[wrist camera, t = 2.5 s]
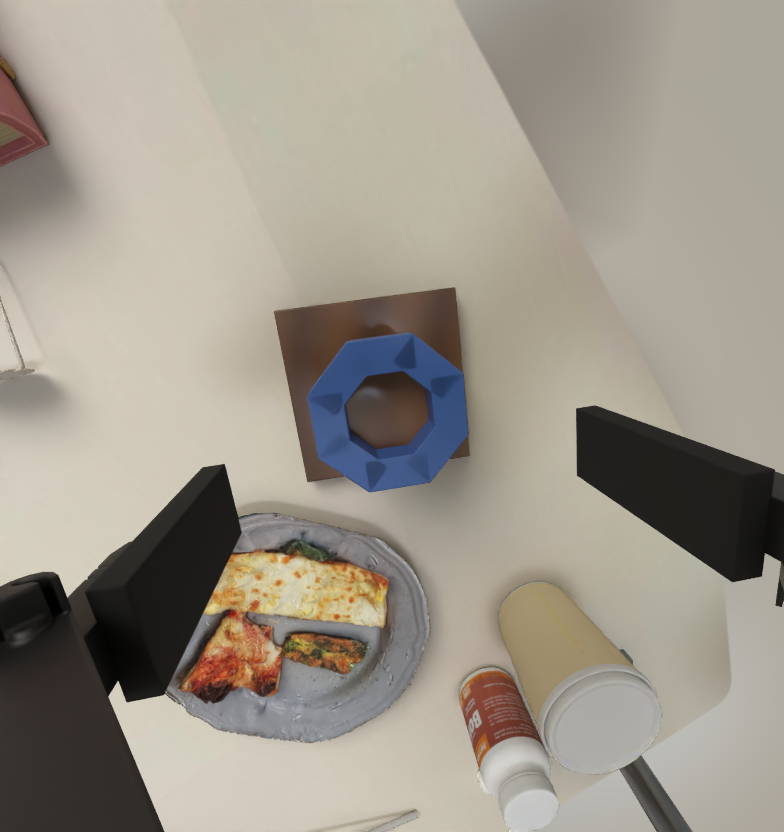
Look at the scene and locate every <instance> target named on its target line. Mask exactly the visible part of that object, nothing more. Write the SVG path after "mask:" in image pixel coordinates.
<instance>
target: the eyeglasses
mask: <svg viewBox="0 0 784 832" xmlns="http://www.w3.org/2000/svg"><path fill="white" fill-rule="evenodd" d="M0 306H1V309H2V312H3V315H4V318H5V321H6V324H7V327H8V330H9V333H10V337H11V340H12V343H13V346H14V349H15V352H16V355H17V358H18V361H19V364H20V368H19V369H10V370H4V371H0V381H4V380H8V379H12V378H16V377H20V376H23V375H27V374H30V373H32V372H34V371H35V370H34V369H25V366H24V362H23V359H22V356H21V354H20V351H19V348H18V345H17V343H16V340H15V337H14V334H13V332H12V329H11V326H10V323H9V321H8V318H7V315H6V312H5V310H4V307H3V304H2V301H1V297H0Z"/></svg>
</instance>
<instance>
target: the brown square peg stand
mask: <svg viewBox="0 0 784 832" xmlns="http://www.w3.org/2000/svg"><path fill="white" fill-rule="evenodd" d="M274 314H275V319H276V324H277V329H278V335H279V340H280V345H281V350H282V355H283V360H284V365H285V370H286V375H287V380H288V385H289V391H290V396H291V401H292V406H293V411H294V416H295V421H296V426H297V431H298V436H299V441H300V447H301V452H302V457H303V462H304V467H305V472H306V477H307V482H311V481H317V480H323V479H329V478H336V477H342V476H344V475H343V474H341V473H340V472H338V471H337V470H335V469H334V468H332V467H331V466H329V465H328V464H326V463H325V462H323V461H322V460H320V459H319V458H318V453H317V448H316V442H315V437H314V431H313V426H312V421H311V415H310V410H309V405H308V399H307V395H308V393H309V392H310V390H311V388H312V387H313V386H314V384H315V383H316V382H317V380H318V379H319V378H320V376H321V375H322V373H323V372H324V371H325V369H326V368H327V367H328V365H329V364H330V363H331V361H332V360H333V358H334V357H335V356H336V354H337V353H338V352H339V350H340V349H341V347H342V346H343V345H344V343H345V342H346V341H348V340H355V339H363V338H370V337H377V336H384V335H392V334H399V333H406V332H409V333H413V334H415V335H416V336H417V337H418V338H420V339H421V340H422V341H423V342H425V343H426V344H427V345H428V346H430V347H431V348H432V349H433V350H435V351H436V352H437V353H438V354H440V355H441V356H442V357H443V358H445V359H446V360H447V361H448V362H450V363H451V364H452V365H453V366H455V367H456V368H457V369H458V370H460V371H461V372H462V361H461V349H460V338H459V326H458V314H457V303H456V291H455V288H447V289H439V290H432V291H424V292H416V293H409V294H401V295H393V296H386V297H378V298H370V299H363V300H355V301H347V302H340V303H332V304H324V305H317V306H309V307H301V308H294V309H286V310H278V311H274ZM346 408H347V415H348V421H349V427H350V431H351V432H352V433H354V434H355V435H357V436H358V437H359V438H361V439H362V440H364V441H365V442H367V443H368V444H370V445H371V446H372V447H374V448H375V449H382V448H388V447H394V446H401V445H407V444H409V443H410V442H411V441H412V439H413V438H414V437H415V435H416V434H417V433H418V432H419V430H420V429H421V428H422V427H423V425H424V424H425V423H426V421H427V420H428V411H427V402H426V393H425V388H424V387H423V386H422V385H420V384H419V383H418V382H416V381H415V380H414V379H413V378H411V377H410V376H409V375H407V374H406V373H405V372H403V371H400V372H393V373H386V374H379V375H372V376H366V378H365V379H364V380H363V382H362V383H361V384H360V386H359V387H358V388H357V390H356V391H355V392H354V394H353V395H352V396H351V398H350V399H349V400H348V402H347V403H346ZM469 455H470V454H469V443H468V436H467V437H466V439H465V440H464V441H463V442H462V443H461V445H460V446H459V447H458V448H457V450H456V451H455V452H454V453H453V455H452V456H451V457H450V458H449V459H453V458H459V457H466V456H469Z"/></svg>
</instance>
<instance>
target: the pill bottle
mask: <svg viewBox="0 0 784 832" xmlns="http://www.w3.org/2000/svg"><path fill="white" fill-rule="evenodd" d="M459 700H460V704H461V708H462V711H463V715H464V718H465V722H466V725H467V729H468V732H469V735H470V739H471V742H472V746H473V749H474V753H475V756H476V760H477V763H478V766H479V770H480V773H481V776H482V779H483V782H484V784H485V786H486V788H487V789H488V790H489V791H490V793H491V794H493V795H494V796H495V797H496V798H498V802H499V807H500V810H501V813H502V816H503V819H504V821H505V823H506V825H507V826H508V827H509V828H511V829H512V830H514V831H517V832H532V831H536V830H539V829H541V828H543V827H545V826H546V825H548V824H549V823H550V822H552V821H553V819H554V818H555V817H556V815H557V813H558V810H559V801H558V798H557V796H556V793H555V791H554V788H553V785H552V783H551V782H550V781H549V775H550V761H549V757H548V755H547V752H546V750H545V747H544V745H543V743H542V741H541V739H540V737H539V734H538V732H537V730H536V728H535V726H534V724H533V721H532V719H531V717H530V715H529V713H528V710H527V708H526V706H525V704H524V702H523V699H522V697H521V695H520V693H519V690H518V688H517V686H516V684H515V682H514V680H513V678H512V677H511V676H510V675H509V674H508V673H507V672H505V671H504V670H501V669H499V668H494V667H488V668H483V669H480V670H477V671H475V672H474V673H472V674H471V675H469V676H468V677H467V678H466V679H465V680H464V682H463V683H462V685H461V688H460V691H459Z"/></svg>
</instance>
